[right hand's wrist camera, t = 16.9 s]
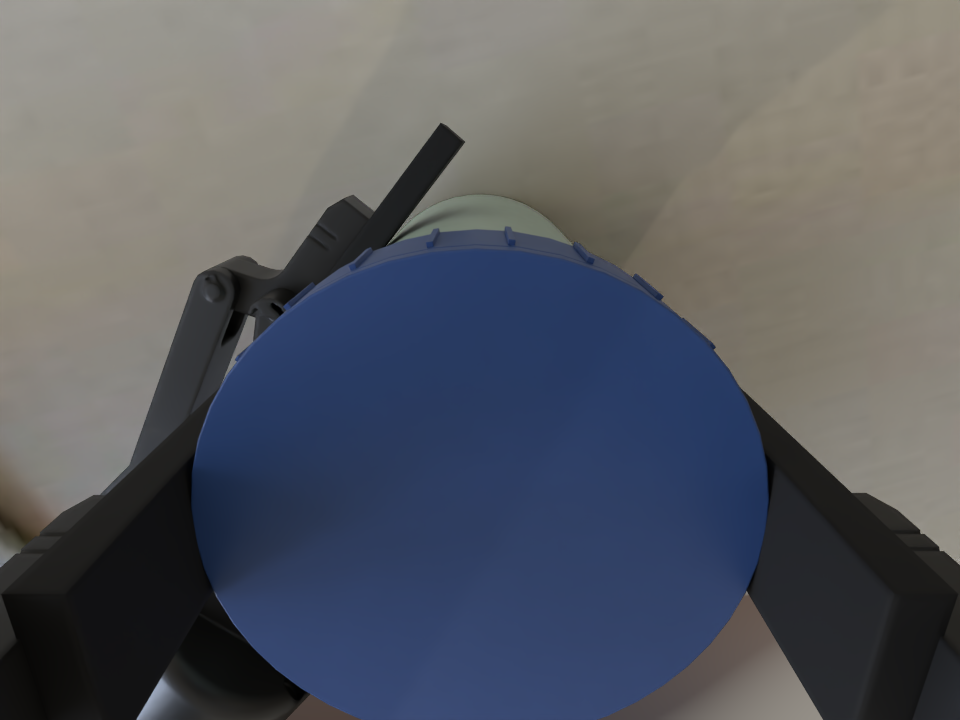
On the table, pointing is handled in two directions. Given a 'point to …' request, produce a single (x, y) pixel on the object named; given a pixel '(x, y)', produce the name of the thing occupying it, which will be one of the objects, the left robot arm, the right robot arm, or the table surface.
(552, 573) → the lid
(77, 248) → the table surface
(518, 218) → the jar
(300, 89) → the table surface
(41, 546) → the right robot arm
